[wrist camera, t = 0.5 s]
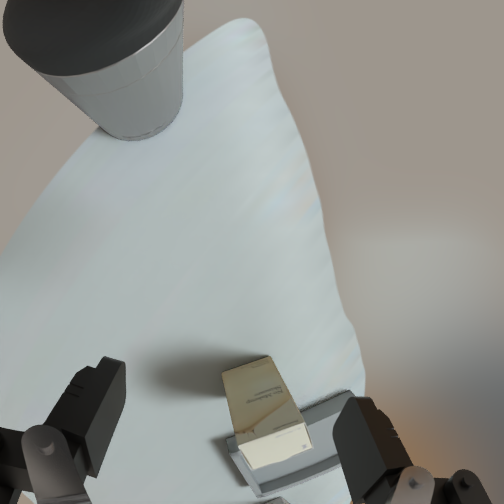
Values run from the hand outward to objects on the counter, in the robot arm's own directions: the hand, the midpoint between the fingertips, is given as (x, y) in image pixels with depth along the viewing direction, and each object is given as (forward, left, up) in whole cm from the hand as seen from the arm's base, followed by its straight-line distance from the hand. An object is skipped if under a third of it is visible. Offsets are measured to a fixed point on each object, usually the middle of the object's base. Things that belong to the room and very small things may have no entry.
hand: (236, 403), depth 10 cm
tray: (+29, +4, -22) cm, 37 cm away
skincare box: (+14, +1, -22) cm, 26 cm away
